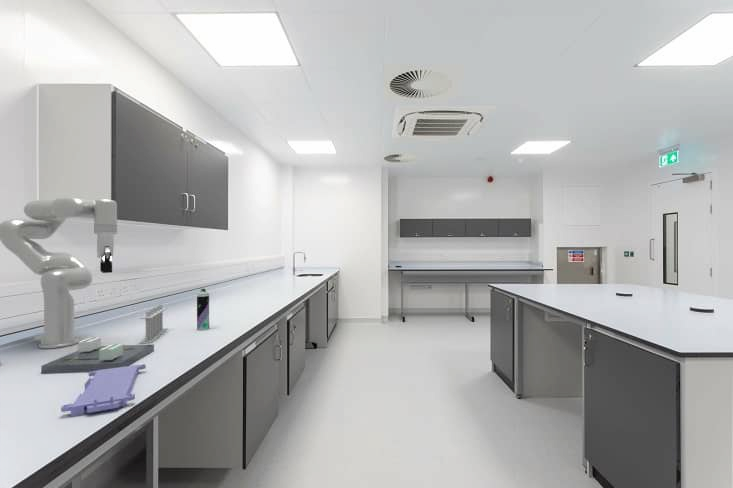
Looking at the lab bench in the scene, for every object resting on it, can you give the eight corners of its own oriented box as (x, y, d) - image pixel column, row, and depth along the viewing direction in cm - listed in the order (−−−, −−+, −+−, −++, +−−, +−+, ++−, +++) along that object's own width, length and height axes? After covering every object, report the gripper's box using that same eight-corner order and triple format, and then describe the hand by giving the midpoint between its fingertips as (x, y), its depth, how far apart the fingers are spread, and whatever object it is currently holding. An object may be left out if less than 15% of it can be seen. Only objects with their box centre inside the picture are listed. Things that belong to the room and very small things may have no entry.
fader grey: (78, 351, 127) (78, 341, 127) (89, 347, 133) (89, 337, 133) (89, 351, 128) (89, 341, 128) (100, 346, 134) (100, 336, 134)
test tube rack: (151, 343, 149) (151, 312, 149) (139, 344, 148) (139, 312, 148) (167, 330, 173) (167, 303, 173) (157, 330, 172) (157, 303, 172)
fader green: (99, 360, 118) (99, 349, 118) (110, 354, 124) (110, 344, 124) (112, 359, 118) (112, 348, 118) (122, 354, 124) (122, 343, 124)
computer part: (57, 423, 82) (133, 409, 89) (57, 405, 82) (133, 392, 89) (89, 379, 109) (146, 371, 116) (89, 366, 109) (146, 358, 116)
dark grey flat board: (41, 373, 114) (41, 365, 114) (88, 352, 135) (88, 346, 135) (120, 370, 116) (120, 362, 116) (154, 350, 138) (153, 344, 138)
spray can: (197, 330, 170) (197, 289, 170) (196, 328, 175) (196, 288, 175) (209, 329, 172) (209, 288, 173) (208, 327, 177) (208, 287, 177)
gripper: (93, 230, 147) (93, 271, 147) (95, 228, 134) (95, 273, 134) (115, 231, 152) (115, 270, 152) (119, 229, 139) (119, 272, 139)
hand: (106, 272), depth 143 cm, fingers open, 9 cm apart
